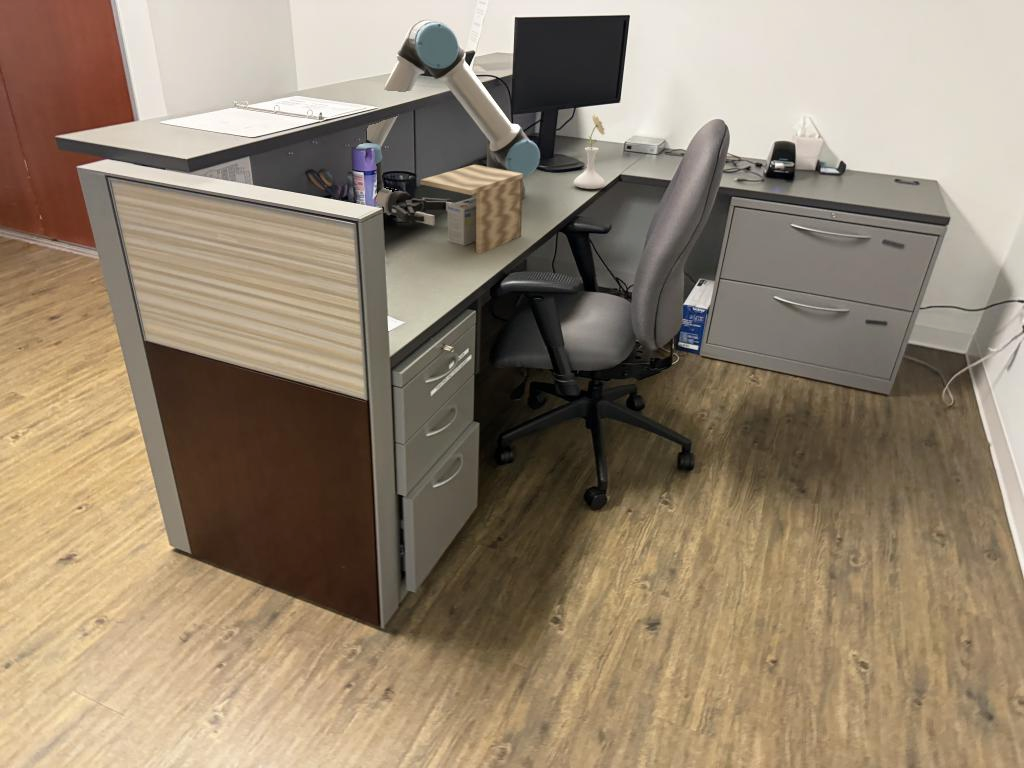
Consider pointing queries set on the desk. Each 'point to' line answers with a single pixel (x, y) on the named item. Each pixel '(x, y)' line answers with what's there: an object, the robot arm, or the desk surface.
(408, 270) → the desk surface
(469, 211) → the light bulb box
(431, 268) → the desk surface
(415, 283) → the desk surface
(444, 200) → the robot arm
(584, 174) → the flower in vase
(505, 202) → the wooden monitor riser
